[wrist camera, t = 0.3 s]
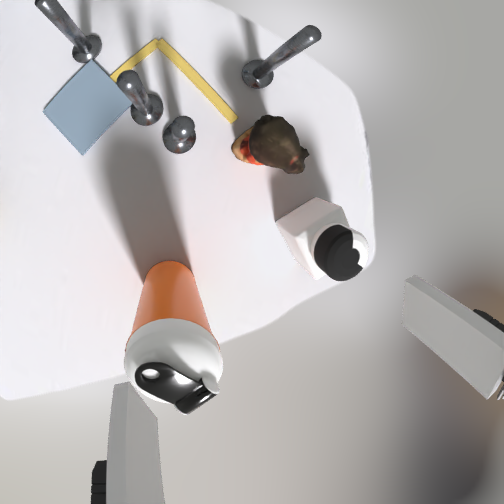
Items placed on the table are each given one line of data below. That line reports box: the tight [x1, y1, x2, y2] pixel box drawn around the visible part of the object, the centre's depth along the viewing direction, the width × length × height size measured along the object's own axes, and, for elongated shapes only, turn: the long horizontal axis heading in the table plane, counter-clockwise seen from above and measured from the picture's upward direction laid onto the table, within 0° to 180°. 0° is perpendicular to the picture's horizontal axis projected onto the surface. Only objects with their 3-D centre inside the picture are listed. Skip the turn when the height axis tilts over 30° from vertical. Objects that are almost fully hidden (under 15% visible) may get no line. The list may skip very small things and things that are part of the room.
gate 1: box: [35, 0, 163, 126], centre depth 20 cm, size 17×4×16 cm, turn 41°
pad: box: [43, 59, 133, 155], centre depth 27 cm, size 9×9×1 cm
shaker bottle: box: [124, 261, 223, 415], centre depth 30 cm, size 9×9×20 cm
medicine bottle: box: [276, 197, 368, 281], centre depth 36 cm, size 7×7×12 cm
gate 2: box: [163, 25, 321, 154], centre depth 25 cm, size 4×17×16 cm, turn 130°
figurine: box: [231, 115, 309, 174], centre depth 30 cm, size 6×6×12 cm
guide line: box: [110, 39, 238, 124], centre depth 30 cm, size 16×8×1 cm, turn 40°
